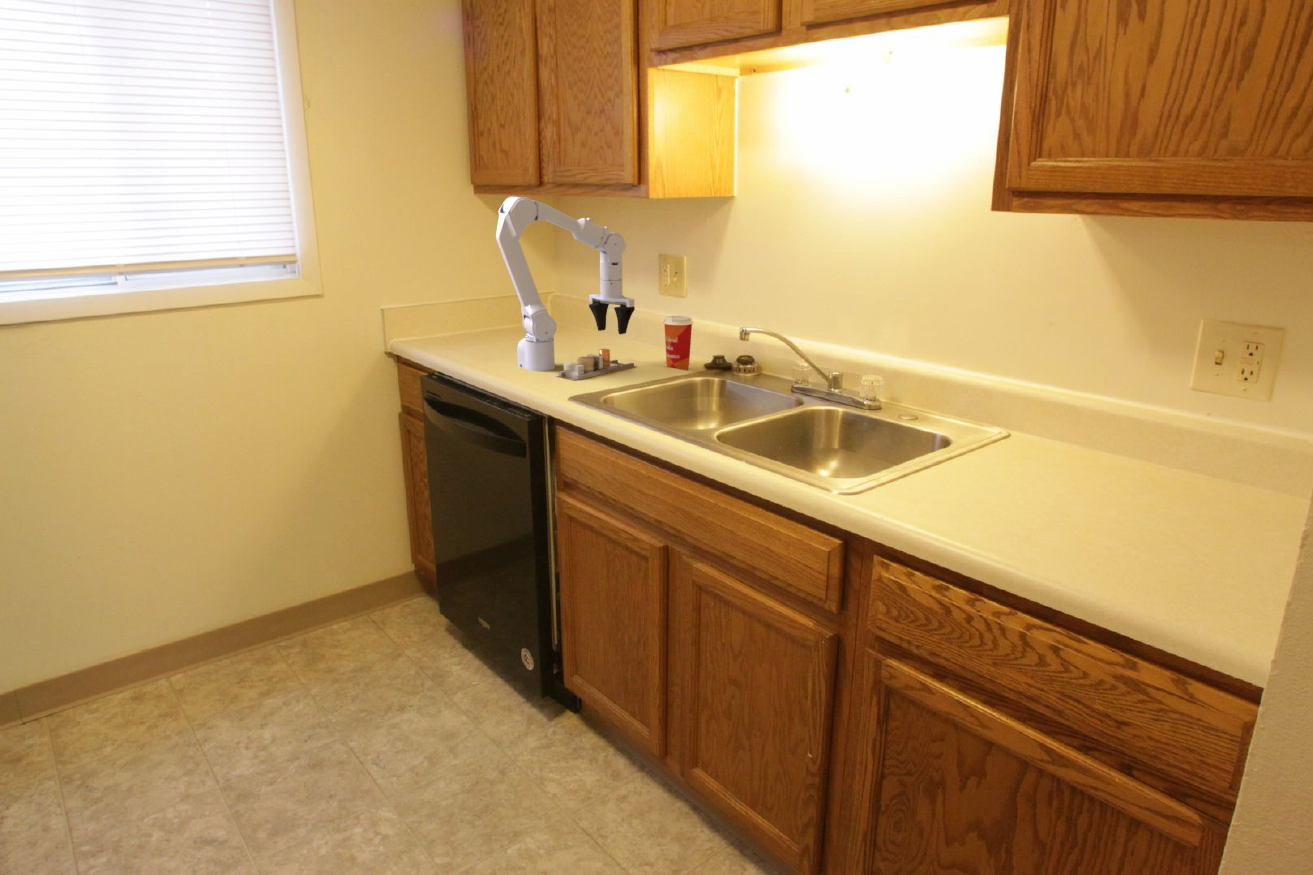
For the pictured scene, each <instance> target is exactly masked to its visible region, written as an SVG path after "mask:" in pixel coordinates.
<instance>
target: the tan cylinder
mask: <svg viewBox="0 0 1313 875" xmlns="http://www.w3.org/2000/svg"><path fill="white" fill-rule="evenodd" d="M576 364H579V365H584V373H588V372H593V371H594V358H593V357H587V356H579V357H577V363H576Z"/></svg>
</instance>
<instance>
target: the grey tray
mask: <svg viewBox="0 0 1313 875" xmlns="http://www.w3.org/2000/svg"><path fill="white" fill-rule="evenodd" d="M618 361H619V360H618V359H613V360H611V359H610V363H612V364H617V365H619V366H615V367H610V368H606V369H602V370H597V371H593V372H588V373H584V365H579V364H577V363H574V362H567V363H566V362H565V363H563V370H561V371H558V375H555V378H559V379H560V378H561V379H564V380H567V381H568V380H569V381H573V382H577V381H581V380H586V379H589V378H594V377H598V376H603V375H607V374H613V373H615V372H620V371H624V370H628V369H629V370H630V369H633V368H637V367H638V366H637V365H635V363H634V362H628V363H621V362H618Z"/></svg>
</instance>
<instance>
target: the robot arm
mask: <svg viewBox="0 0 1313 875" xmlns="http://www.w3.org/2000/svg"><path fill="white" fill-rule="evenodd" d="M533 221H539V222H540V221H545V222H547V223H550V224H552V225H555V226H557V227H559V228H562V229H564V230H566V231H568V232H571V234H572V236H573V237H572V238H573V239H574V240H576V241H578V242H579V243H582V244H584V245H585V246H586V245H587V246H589V247H591V248H593V249H594V250H597V251H598V252H599V257H600V258H599V277H600V278H599V282H600V283H599V285H600V294H599V293H598V294H597V293H592V294H589V304H588V307H589V309H590V311H591V313H592V315H593V318H594V320H595V323H596V327H597V330H598V331H599V332H601V331H605V330H606V329H607V328H606V327H607V315H608V314H607V313H608V309H609V305H615V306H616V307H613V309H614V312H615V315H616V319H617V320H616V321H617V332H618V334H619V335H624V334H627V329H628V328H629V327H628V326H629V322H630V319H631V317H632V315H633V313H634V311H635V310H636V308H635V298H630V297H626V296H625V295H624V294H623V254H624V252H625V250H626V248H627V247H626V246H627V244H626V242H625V239H624V238H623V236H622V234H620V233H618V232H612V231H610V227H608V226H601V225H600V224H598V223H595V222H594V219H593V218H591V217H587V218H585V217H582V218H578V219H575V218H573V217H571V216H569V215H567V214H566V213H564V212H562V211H561V210H558V209H556V208H554V207H552V206H550V205H549V204H547V203H544V202H542V201H538V200H533V199H531V198H529V197H527V196H526V197H525V196H521V197H519V196H515V195H511V196H508V197H507V198H505V200H504V201H503V203H502V205H501V206H500V208H499V209H498V220H497V227H496V233H495V239H496V243H497V245H498V247H499V250H500V253H501V255H502V258H503V261H504V264H505V266H506V269H507V271H508V273H509V276H510V278H511V282H512V284H513V287H514V290H515V293H516V295H517V297H518V300H519V303H520V307H521V308H520V312H521V314H522V328H523V330H524V331H525V332H526V334H525V337H523V338H522V339H520V340H519V341H518V344H517V347H516V348H517V349H516V350H517V351H516V353H517V354H516V355H517V367H518V368H521V369H525V370H527V371H531V372H548V371H553V370H554V369H556V366H555V365H556V362H555V359H556V358H555V334H556V332H557V323H556V321H555V320H554V318H552V316H551V315H550V314H549V312H548V310H547V308H546V306H545V305H544V303H543V301H542V300H541V297H540V295H539V292H538V289H537V287H536V284H535V281H534V279H533V276H532V273H531V270H530V267H529V265H528V262H527V259H526V256H525V253H524V251H523V249H522V246H521V243H520V238H521V237H522V235H523V234H524V233H523V232H524V231H525V229H526V228H527V227H528V226H529V225H530V224H532V223H533Z"/></svg>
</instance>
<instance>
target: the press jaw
mask: <svg viewBox="0 0 1313 875" xmlns="http://www.w3.org/2000/svg"><path fill="white" fill-rule="evenodd" d="M586 357H593V358H594V371H597V370H602V369H606V368H610V367H615V366H619V365H617V364H612V363H610V361H611V349H610V348H600V349H598V355H597V354H586Z"/></svg>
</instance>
